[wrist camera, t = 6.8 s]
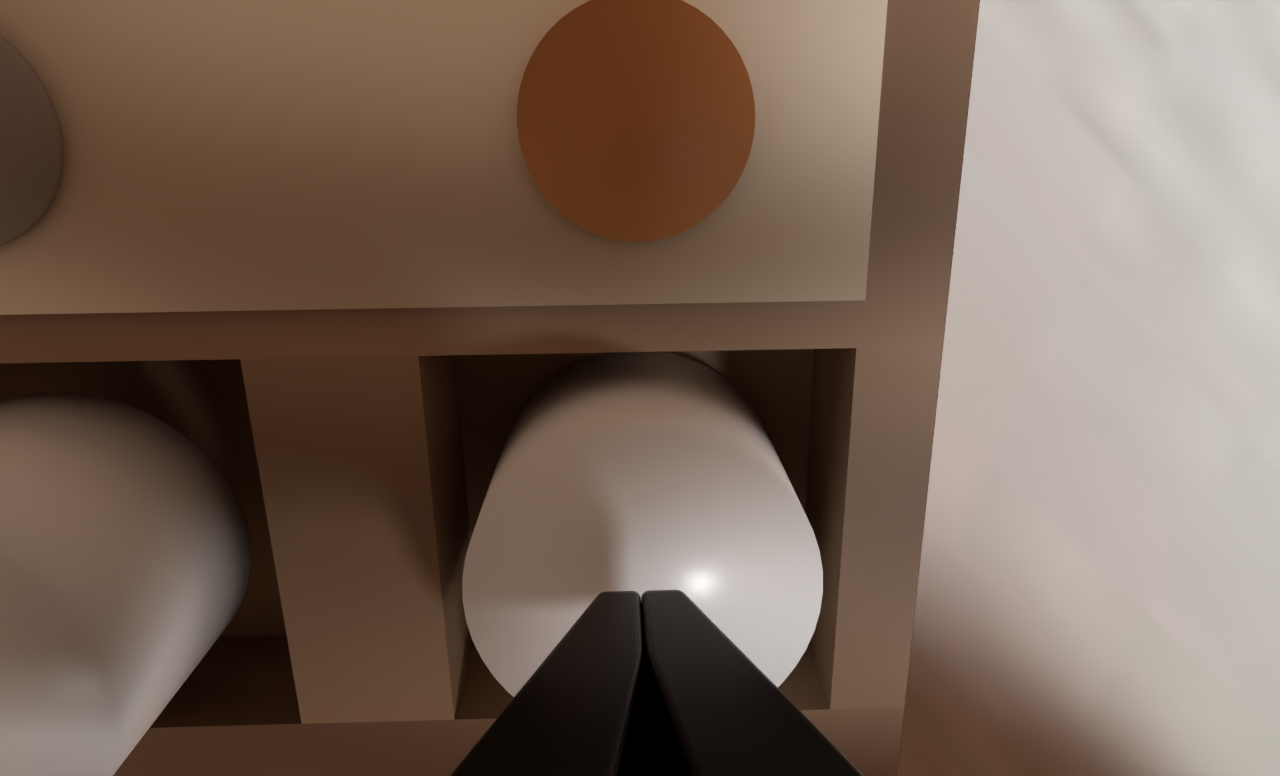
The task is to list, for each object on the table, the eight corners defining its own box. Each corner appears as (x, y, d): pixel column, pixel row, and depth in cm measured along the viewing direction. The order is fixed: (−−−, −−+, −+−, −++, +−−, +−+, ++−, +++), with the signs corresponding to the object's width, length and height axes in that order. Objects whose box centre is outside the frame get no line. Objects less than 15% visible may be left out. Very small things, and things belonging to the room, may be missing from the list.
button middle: (272, 668, 11) (154, 857, 8) (-28, 676, 11) (-250, 868, 8) (223, 388, 10) (64, 497, 7) (-116, 394, 10) (-413, 508, 7)
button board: (837, 685, 15) (900, 845, 11) (-388, 718, 14) (-681, 894, 11) (895, -84, 11) (1012, -169, 8) (-770, -73, 10) (-1388, -157, 7)
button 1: (769, 599, 13) (813, 738, 10) (508, 605, 13) (476, 747, 10) (780, 346, 11) (834, 423, 9) (489, 352, 11) (447, 430, 8)
